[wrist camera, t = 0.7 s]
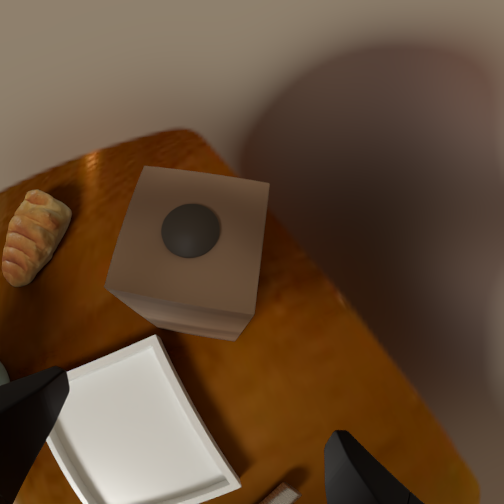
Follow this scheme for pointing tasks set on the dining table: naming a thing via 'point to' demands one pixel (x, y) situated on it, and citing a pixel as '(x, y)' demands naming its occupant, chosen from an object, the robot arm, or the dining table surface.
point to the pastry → (33, 236)
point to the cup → (3, 375)
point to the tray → (136, 433)
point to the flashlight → (282, 495)
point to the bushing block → (191, 251)
